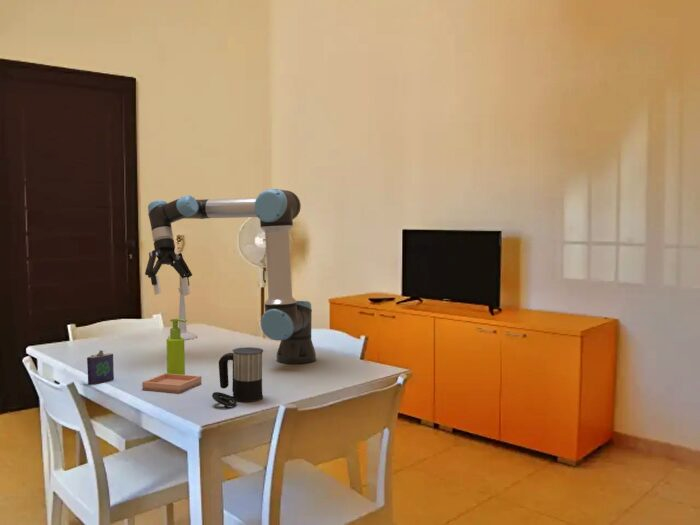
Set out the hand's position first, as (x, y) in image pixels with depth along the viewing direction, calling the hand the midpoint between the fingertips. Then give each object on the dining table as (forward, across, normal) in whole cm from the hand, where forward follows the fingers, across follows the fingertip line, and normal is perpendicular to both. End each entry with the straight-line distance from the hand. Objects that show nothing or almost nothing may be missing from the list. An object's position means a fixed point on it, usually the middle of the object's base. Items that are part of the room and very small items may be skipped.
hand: (172, 294), depth 241 cm
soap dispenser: (+32, +10, +6) cm, 34 cm away
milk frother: (+47, +19, +41) cm, 66 cm away
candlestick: (+6, -40, -44) cm, 59 cm away
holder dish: (+36, +19, +14) cm, 44 cm away
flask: (+29, +29, -9) cm, 42 cm away
